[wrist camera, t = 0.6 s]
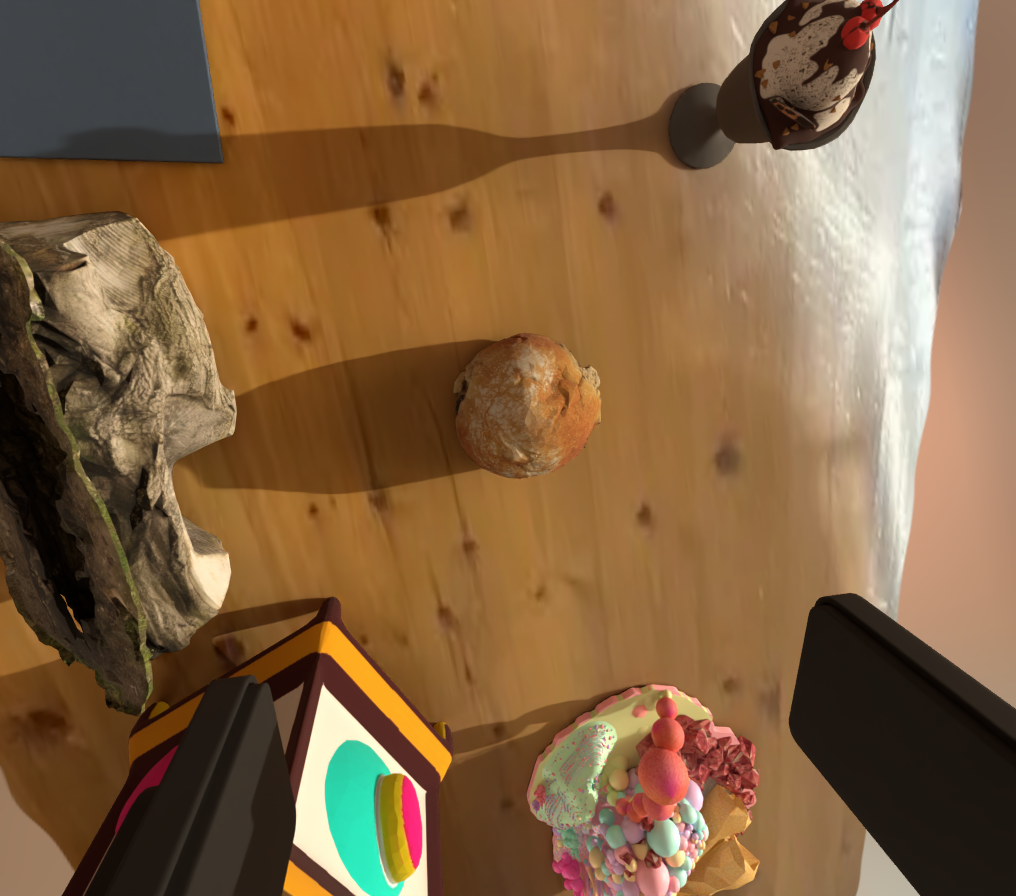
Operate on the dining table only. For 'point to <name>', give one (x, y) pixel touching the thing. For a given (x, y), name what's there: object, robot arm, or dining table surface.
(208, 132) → the placemat
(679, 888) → the candy landscape model
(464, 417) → the bread roll
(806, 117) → the sundae
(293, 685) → the decorative lantern
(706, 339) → the dining table surface
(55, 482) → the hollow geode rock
